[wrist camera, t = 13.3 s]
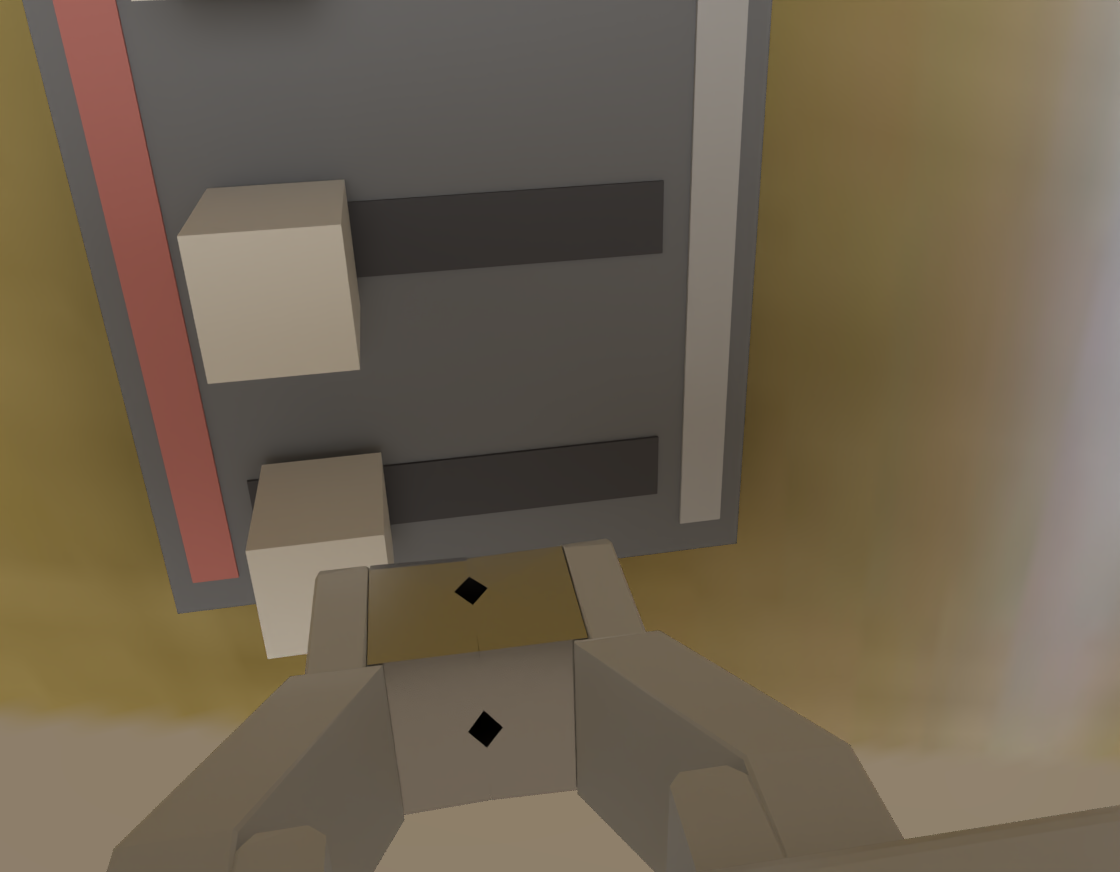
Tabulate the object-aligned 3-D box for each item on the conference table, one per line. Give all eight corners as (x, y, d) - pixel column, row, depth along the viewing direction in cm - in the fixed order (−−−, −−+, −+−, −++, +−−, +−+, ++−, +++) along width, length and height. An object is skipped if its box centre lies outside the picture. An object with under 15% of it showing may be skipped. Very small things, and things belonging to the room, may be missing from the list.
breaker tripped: (344, 179, 22) (341, 224, 19) (360, 305, 24) (359, 369, 20) (206, 188, 22) (176, 236, 18) (231, 316, 23) (207, 384, 20)
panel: (755, -259, 22) (791, -277, 20) (715, 509, 31) (737, 545, 29) (-12, -258, 20) (-51, -279, 18) (189, 572, 29) (177, 616, 27)
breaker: (380, 452, 25) (384, 534, 22) (393, 549, 27) (397, 641, 23) (262, 464, 25) (245, 550, 21) (280, 562, 26) (267, 658, 23)
